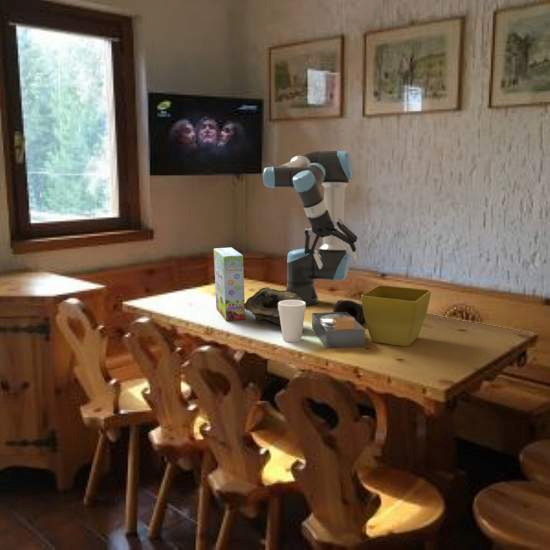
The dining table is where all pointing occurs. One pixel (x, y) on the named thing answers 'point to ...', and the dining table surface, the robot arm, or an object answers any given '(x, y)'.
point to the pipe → (350, 309)
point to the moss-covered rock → (268, 303)
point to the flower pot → (395, 313)
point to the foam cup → (291, 319)
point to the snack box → (229, 283)
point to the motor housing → (338, 330)
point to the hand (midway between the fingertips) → (338, 263)
